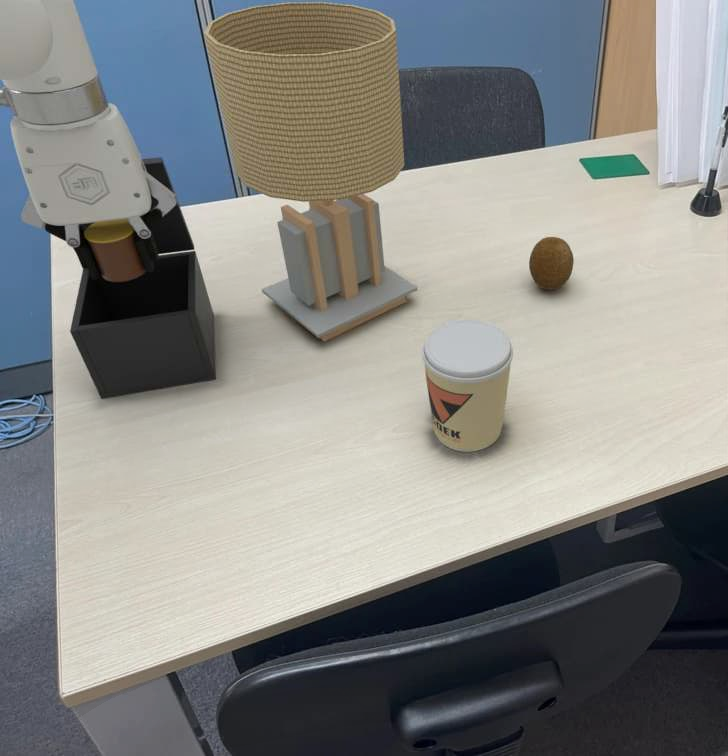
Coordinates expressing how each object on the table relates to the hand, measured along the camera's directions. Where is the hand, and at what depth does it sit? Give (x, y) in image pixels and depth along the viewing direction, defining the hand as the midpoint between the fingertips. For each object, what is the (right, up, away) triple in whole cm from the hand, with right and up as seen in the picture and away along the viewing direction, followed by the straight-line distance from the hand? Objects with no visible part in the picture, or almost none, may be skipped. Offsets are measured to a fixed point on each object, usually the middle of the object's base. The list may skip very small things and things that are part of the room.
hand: (123, 267), depth 77 cm
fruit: (+48, +1, +26) cm, 54 cm away
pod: (0, 0, 0) cm, 0 cm away
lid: (-2, +6, +3) cm, 7 cm away
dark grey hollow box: (-1, -9, +11) cm, 15 cm away
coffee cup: (+37, -18, +4) cm, 41 cm away
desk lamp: (+19, -2, +21) cm, 28 cm away
